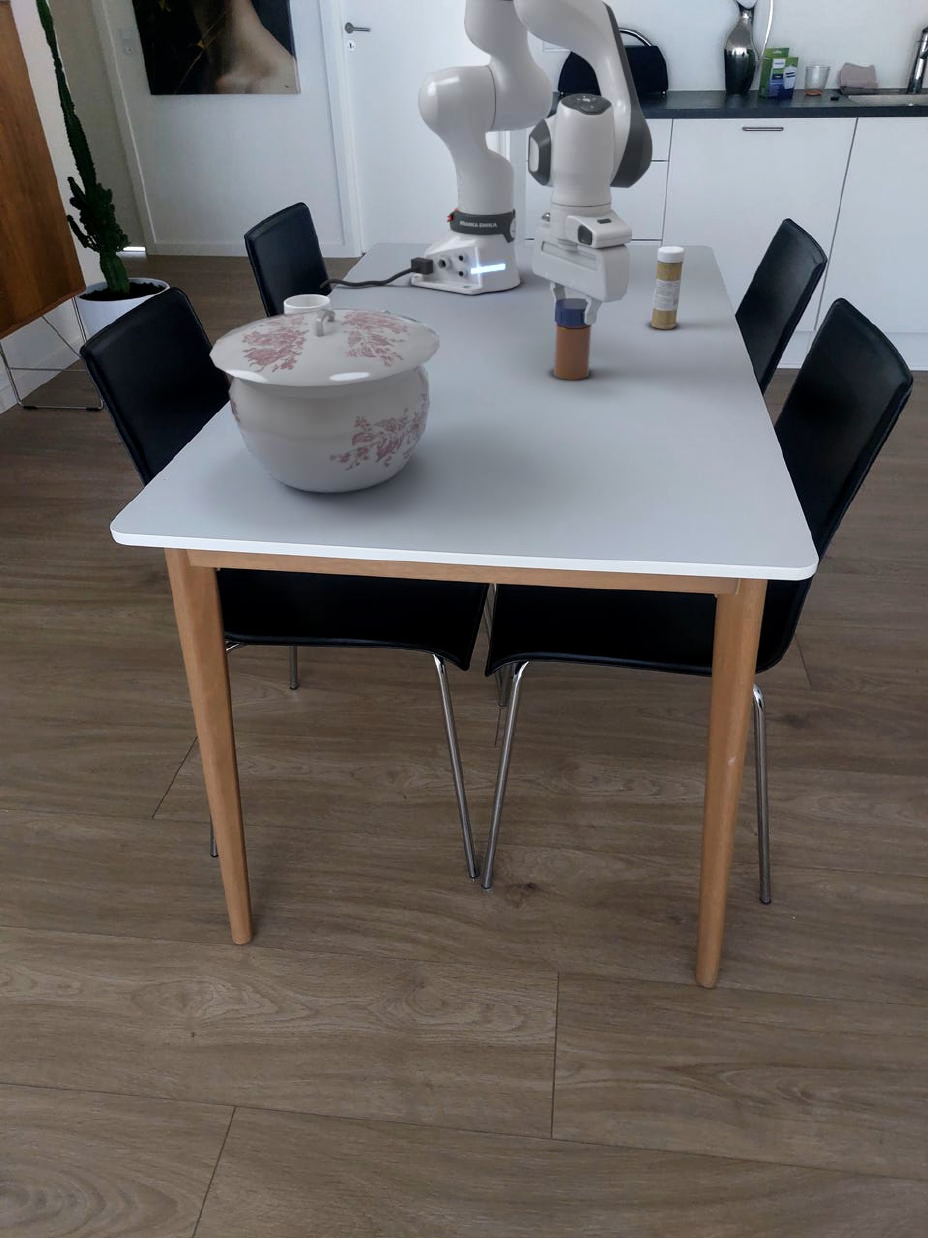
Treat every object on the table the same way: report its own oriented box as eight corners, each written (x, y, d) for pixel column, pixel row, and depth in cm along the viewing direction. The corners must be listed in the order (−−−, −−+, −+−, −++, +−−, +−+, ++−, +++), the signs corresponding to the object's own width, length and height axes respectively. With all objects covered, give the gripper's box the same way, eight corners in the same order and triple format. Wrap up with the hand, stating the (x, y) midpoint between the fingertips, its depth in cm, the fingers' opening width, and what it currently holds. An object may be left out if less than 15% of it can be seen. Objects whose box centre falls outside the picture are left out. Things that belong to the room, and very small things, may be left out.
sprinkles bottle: (661, 320, 174) (670, 243, 166) (681, 326, 171) (690, 248, 163) (645, 325, 172) (652, 247, 164) (664, 331, 169) (673, 252, 161)
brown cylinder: (549, 377, 150) (552, 311, 144) (559, 366, 154) (562, 301, 149) (583, 381, 149) (587, 314, 143) (592, 370, 153) (596, 304, 147)
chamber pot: (269, 540, 108) (243, 362, 96) (206, 452, 128) (178, 296, 117) (485, 487, 118) (485, 321, 107) (395, 413, 139) (387, 266, 127)
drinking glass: (347, 396, 145) (339, 296, 136) (327, 412, 139) (317, 309, 131) (307, 391, 146) (296, 292, 138) (286, 407, 141) (274, 305, 133)
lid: (582, 328, 143) (583, 311, 142) (547, 322, 146) (548, 305, 145) (600, 318, 147) (601, 301, 146) (565, 312, 150) (566, 295, 149)
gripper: (523, 212, 145) (521, 303, 153) (603, 238, 130) (596, 338, 138) (557, 207, 147) (553, 297, 155) (640, 232, 133) (631, 331, 140)
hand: (574, 317), depth 146 cm, fingers closed on lid, 6 cm apart
